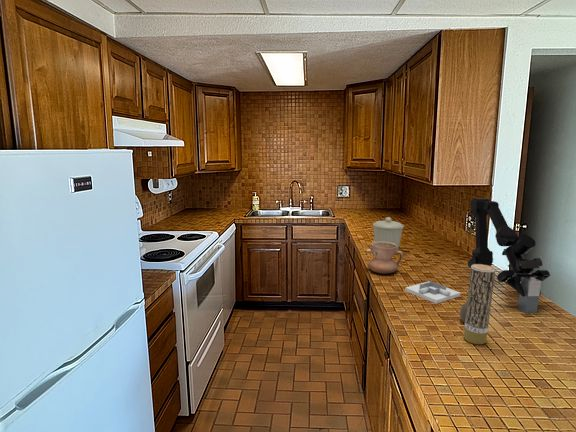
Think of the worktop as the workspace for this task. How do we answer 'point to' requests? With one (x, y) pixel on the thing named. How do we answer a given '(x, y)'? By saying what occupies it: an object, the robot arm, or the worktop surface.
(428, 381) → the worktop surface
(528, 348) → the worktop surface
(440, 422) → the worktop surface
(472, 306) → the bark covered log
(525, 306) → the silver metal block
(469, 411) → the worktop surface
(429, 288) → the plate
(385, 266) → the ceramic jug
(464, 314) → the vase
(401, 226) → the canister
